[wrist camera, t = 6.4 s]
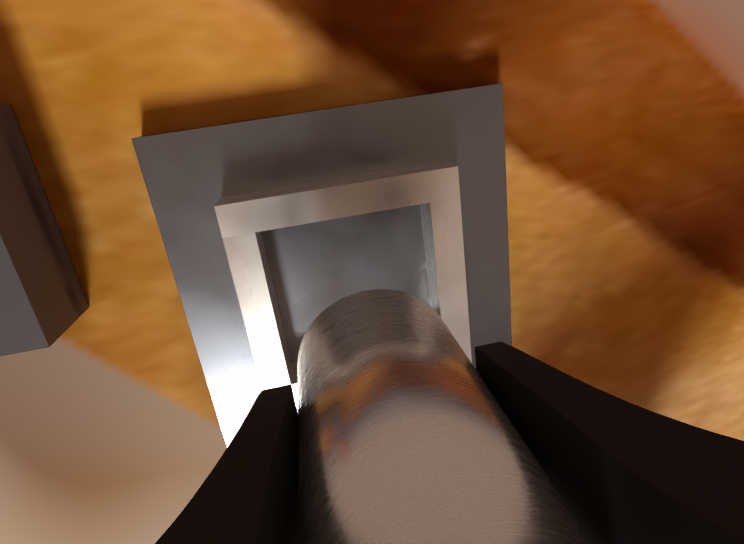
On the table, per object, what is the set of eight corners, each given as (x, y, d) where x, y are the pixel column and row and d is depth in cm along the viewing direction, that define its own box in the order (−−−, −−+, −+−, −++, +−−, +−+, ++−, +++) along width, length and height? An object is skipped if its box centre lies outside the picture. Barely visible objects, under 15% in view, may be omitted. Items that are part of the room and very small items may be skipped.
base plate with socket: (503, 373, 21) (529, 407, 19) (230, 431, 20) (221, 474, 17) (491, 84, 17) (522, 81, 14) (141, 136, 16) (113, 142, 13)
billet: (452, 414, 13) (607, 725, 7) (306, 436, 13) (319, 796, 6) (451, 280, 12) (647, 506, 5) (287, 299, 11) (278, 576, 5)
